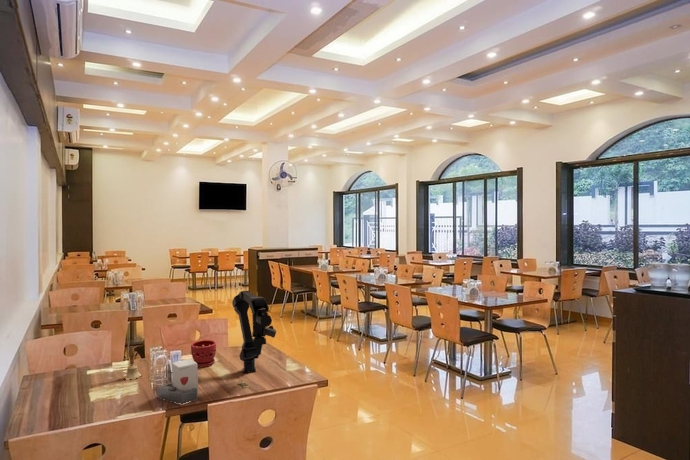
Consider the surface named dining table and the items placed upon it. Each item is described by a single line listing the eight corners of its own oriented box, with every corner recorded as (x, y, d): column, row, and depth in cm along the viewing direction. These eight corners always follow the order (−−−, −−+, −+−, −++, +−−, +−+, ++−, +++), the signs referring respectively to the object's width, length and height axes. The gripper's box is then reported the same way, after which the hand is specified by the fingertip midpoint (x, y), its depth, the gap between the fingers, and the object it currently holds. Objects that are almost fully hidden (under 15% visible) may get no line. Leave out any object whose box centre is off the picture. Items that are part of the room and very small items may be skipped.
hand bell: (129, 381, 234) (128, 349, 234) (120, 378, 239) (119, 346, 239) (144, 376, 241) (143, 345, 240) (136, 373, 246) (135, 343, 245)
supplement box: (178, 401, 207) (177, 367, 207) (172, 395, 214) (171, 362, 214) (198, 395, 213) (197, 362, 212) (192, 390, 220) (190, 358, 219)
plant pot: (186, 366, 256) (185, 344, 256) (206, 359, 267) (205, 338, 266) (202, 370, 249) (201, 347, 248) (221, 363, 259) (221, 341, 259)
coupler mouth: (173, 392, 218) (172, 380, 218) (197, 399, 208) (196, 387, 208) (157, 398, 211) (157, 385, 211) (181, 405, 202) (181, 392, 201)
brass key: (236, 383, 227) (236, 382, 227) (242, 382, 229) (242, 380, 229) (243, 388, 221) (243, 386, 221) (250, 386, 223) (249, 385, 223)
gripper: (276, 326, 225) (277, 358, 226) (273, 318, 243) (274, 348, 244) (252, 327, 223) (253, 360, 223) (251, 319, 241) (252, 349, 242)
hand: (259, 354), depth 233 cm, fingers closed
